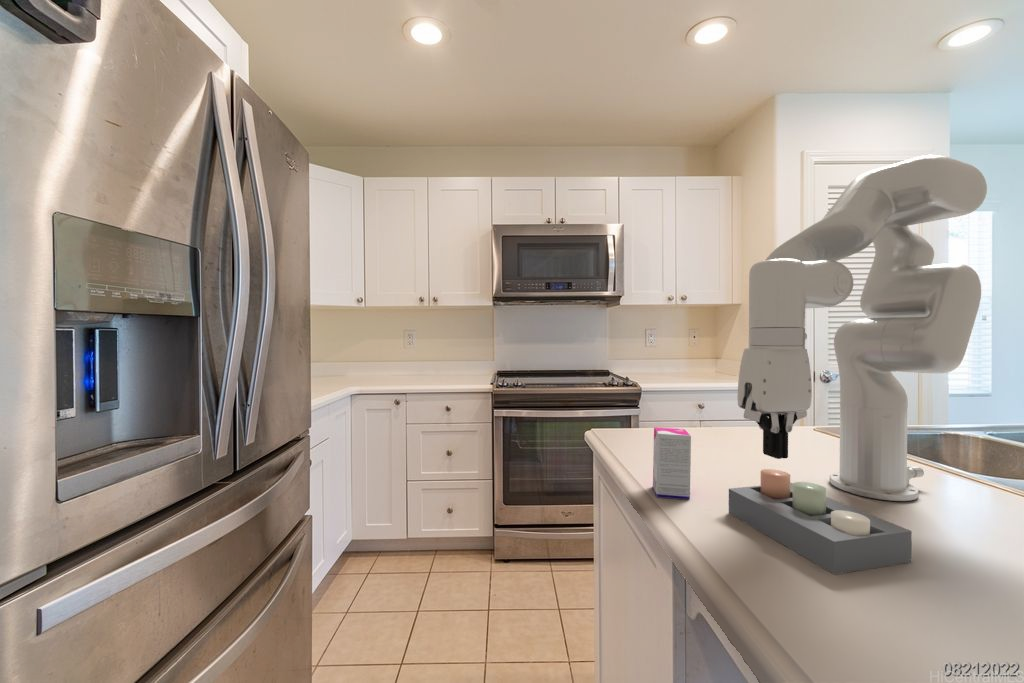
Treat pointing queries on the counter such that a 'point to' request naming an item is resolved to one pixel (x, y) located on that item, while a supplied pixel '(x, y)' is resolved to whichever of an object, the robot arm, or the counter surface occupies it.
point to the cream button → (850, 522)
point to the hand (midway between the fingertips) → (775, 455)
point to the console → (822, 532)
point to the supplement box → (671, 463)
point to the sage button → (809, 498)
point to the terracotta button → (775, 484)
